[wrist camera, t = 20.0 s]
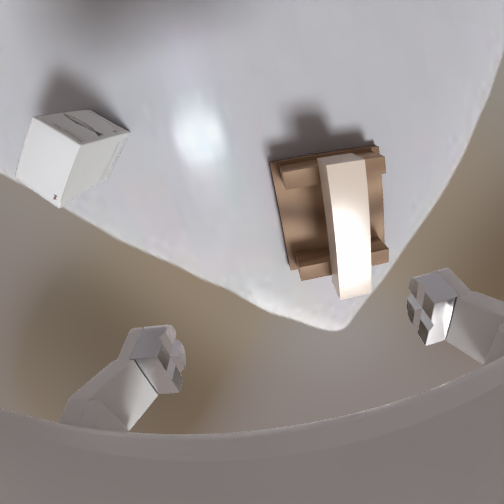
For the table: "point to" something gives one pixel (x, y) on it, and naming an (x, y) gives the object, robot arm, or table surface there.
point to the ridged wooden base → (322, 209)
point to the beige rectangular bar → (347, 222)
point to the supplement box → (68, 154)
